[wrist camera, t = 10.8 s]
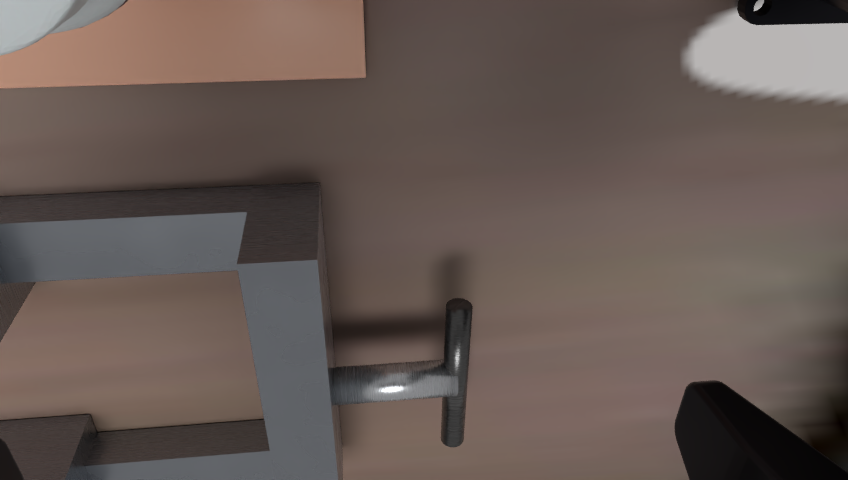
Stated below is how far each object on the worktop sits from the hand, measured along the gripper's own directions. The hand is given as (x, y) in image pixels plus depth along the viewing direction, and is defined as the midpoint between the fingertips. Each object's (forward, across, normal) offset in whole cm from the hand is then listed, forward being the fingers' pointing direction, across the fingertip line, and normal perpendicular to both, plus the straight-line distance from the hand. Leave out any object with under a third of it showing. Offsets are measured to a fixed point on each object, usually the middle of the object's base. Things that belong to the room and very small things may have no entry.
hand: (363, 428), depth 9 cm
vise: (+12, +5, +9) cm, 16 cm away
